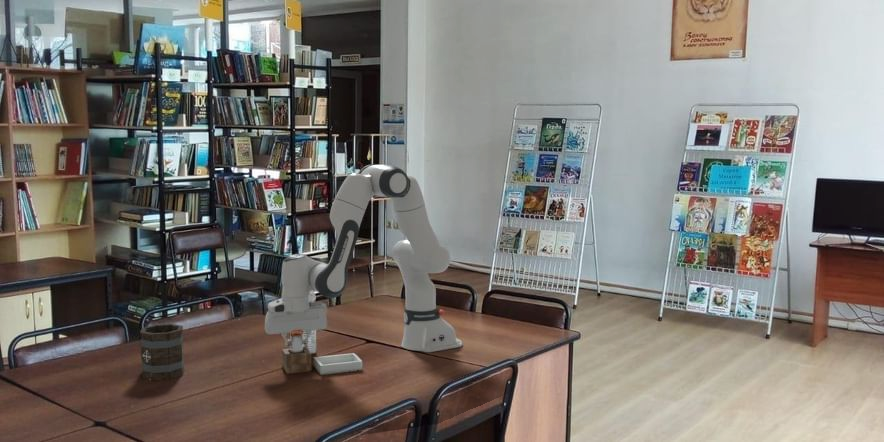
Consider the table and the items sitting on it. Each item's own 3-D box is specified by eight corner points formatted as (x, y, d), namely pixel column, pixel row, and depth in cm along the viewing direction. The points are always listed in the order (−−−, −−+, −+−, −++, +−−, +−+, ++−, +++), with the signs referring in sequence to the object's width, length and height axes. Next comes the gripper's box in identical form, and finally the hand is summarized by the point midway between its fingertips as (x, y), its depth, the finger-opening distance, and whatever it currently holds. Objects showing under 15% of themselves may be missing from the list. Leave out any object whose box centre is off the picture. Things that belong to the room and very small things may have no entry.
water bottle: (312, 356, 269) (311, 286, 266) (293, 355, 271) (292, 285, 268) (319, 350, 276) (318, 282, 273) (301, 349, 277) (300, 281, 274)
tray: (354, 361, 264) (354, 353, 263) (362, 370, 254) (362, 361, 254) (313, 366, 258) (313, 357, 258) (320, 374, 249) (320, 365, 249)
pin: (302, 365, 258) (301, 326, 257) (305, 369, 254) (305, 329, 252) (288, 367, 256) (287, 327, 255) (291, 371, 252) (290, 331, 250)
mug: (191, 375, 247) (189, 330, 246) (147, 383, 240) (146, 336, 238) (172, 360, 263) (170, 318, 261) (131, 367, 255) (129, 323, 254)
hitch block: (306, 364, 260) (305, 346, 260) (311, 371, 253) (311, 353, 252) (282, 366, 257) (282, 349, 257) (286, 373, 250) (286, 355, 249)
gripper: (324, 299, 259) (325, 339, 261) (263, 304, 252) (264, 345, 253) (329, 303, 254) (329, 343, 255) (266, 308, 246) (267, 350, 248)
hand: (296, 344), depth 254 cm, fingers closed on pin, 4 cm apart
